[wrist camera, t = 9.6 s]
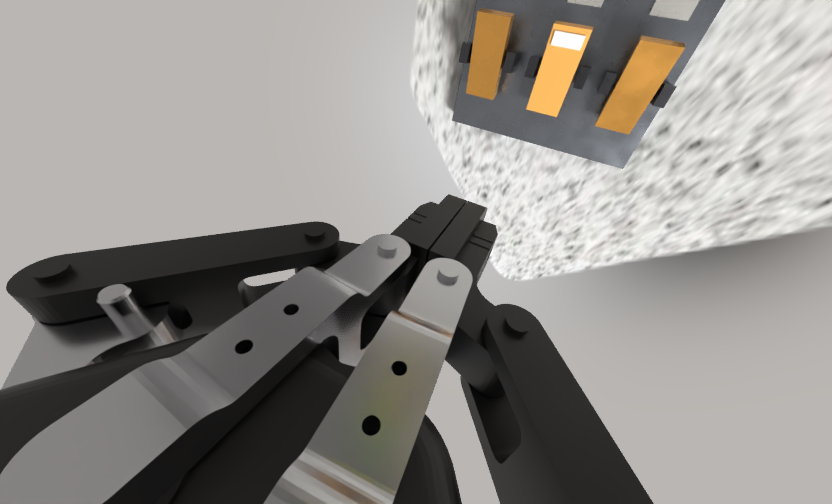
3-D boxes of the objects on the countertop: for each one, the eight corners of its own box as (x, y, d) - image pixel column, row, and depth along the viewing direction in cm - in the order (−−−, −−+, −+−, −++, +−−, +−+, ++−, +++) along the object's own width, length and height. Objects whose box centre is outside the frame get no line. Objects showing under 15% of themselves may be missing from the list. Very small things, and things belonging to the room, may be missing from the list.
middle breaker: (594, 26, 24) (592, 30, 23) (558, 112, 30) (556, 118, 29) (556, 20, 25) (553, 24, 24) (528, 105, 30) (525, 110, 30)
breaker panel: (721, -8, 24) (754, -19, 19) (621, 161, 33) (626, 182, 28) (492, -37, 29) (472, -53, 24) (459, 116, 37) (439, 127, 33)
